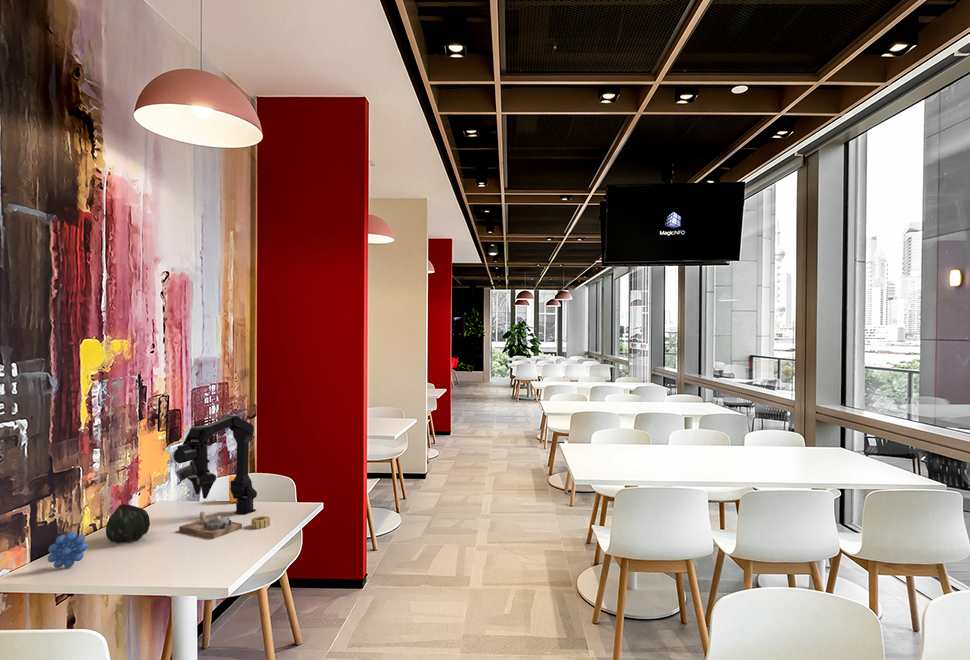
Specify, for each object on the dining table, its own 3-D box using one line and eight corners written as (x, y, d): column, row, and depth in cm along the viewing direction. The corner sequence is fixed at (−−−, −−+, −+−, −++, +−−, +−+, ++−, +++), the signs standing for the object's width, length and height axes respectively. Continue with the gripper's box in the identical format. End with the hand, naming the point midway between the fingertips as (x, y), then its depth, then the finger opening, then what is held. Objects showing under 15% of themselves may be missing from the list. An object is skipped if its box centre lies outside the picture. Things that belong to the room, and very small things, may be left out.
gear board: (208, 522, 242) (208, 506, 242) (241, 528, 232) (241, 512, 232) (179, 531, 230) (179, 515, 230) (213, 538, 220) (213, 521, 220)
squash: (161, 516, 232) (132, 492, 229) (152, 529, 218) (121, 503, 215) (132, 543, 229) (102, 519, 226) (121, 558, 215) (89, 532, 211)
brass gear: (261, 522, 239) (261, 515, 239) (273, 524, 236) (273, 517, 236) (247, 527, 233) (247, 520, 233) (259, 529, 230) (259, 522, 230)
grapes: (92, 560, 201) (92, 526, 201) (85, 567, 194) (85, 532, 194) (53, 565, 197) (52, 530, 197) (44, 572, 191) (44, 536, 191)
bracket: (247, 501, 272) (246, 476, 272) (230, 504, 269) (230, 478, 269) (245, 496, 281) (244, 472, 282) (229, 498, 278) (228, 474, 278)
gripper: (171, 458, 233) (172, 496, 232) (185, 464, 219) (186, 505, 219) (200, 453, 240) (201, 490, 240) (216, 459, 227) (217, 499, 227)
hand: (200, 496), depth 231 cm, fingers open, 9 cm apart
